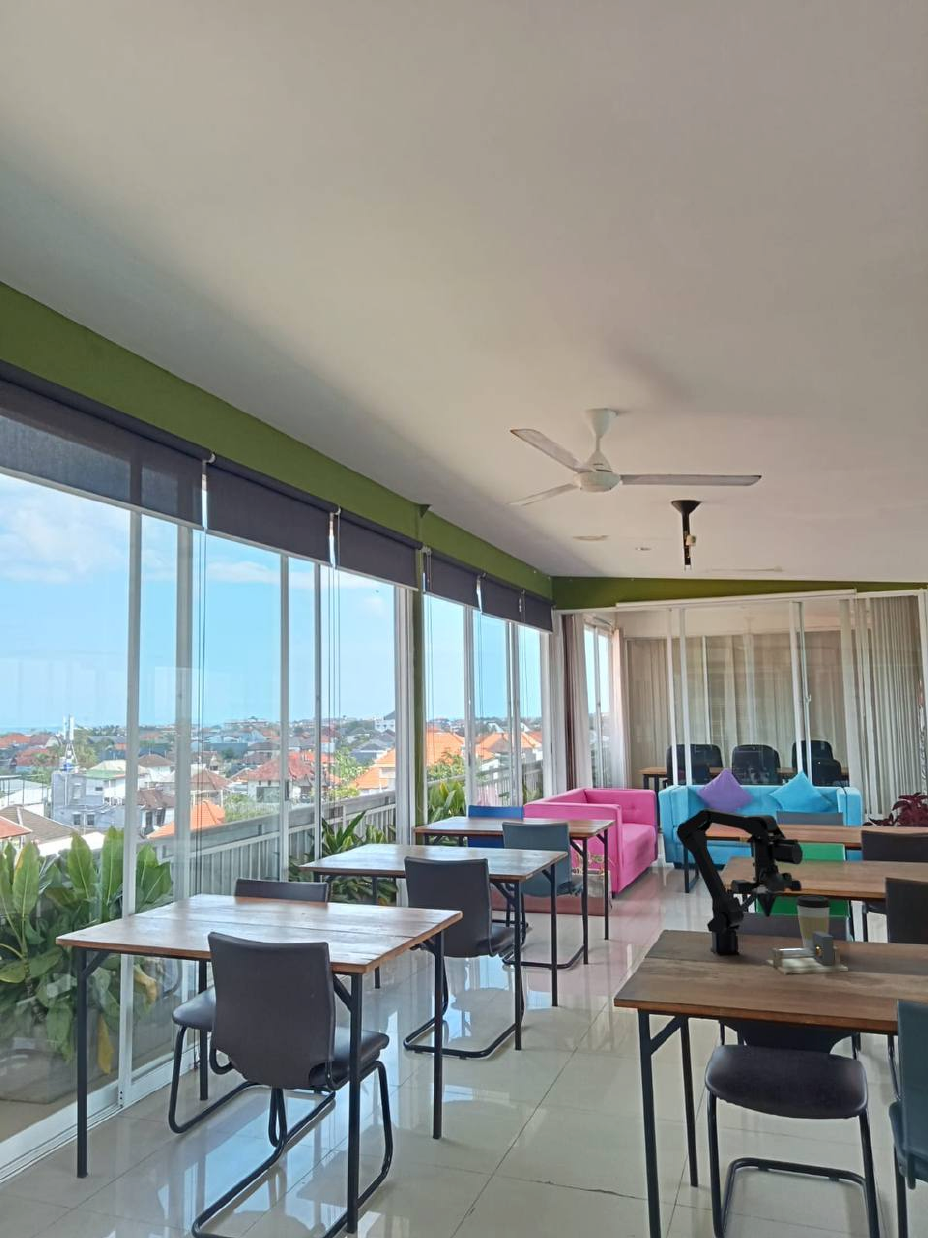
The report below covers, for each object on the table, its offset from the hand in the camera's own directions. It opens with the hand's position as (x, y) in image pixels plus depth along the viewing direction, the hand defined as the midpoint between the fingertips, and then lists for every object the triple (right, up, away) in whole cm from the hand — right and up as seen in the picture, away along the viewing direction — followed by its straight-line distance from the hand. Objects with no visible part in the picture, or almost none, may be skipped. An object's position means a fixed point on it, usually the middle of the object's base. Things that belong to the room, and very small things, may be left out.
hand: (767, 916), depth 259 cm
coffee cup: (+18, -14, +11) cm, 25 cm away
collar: (+14, -11, -5) cm, 18 cm away
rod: (+9, -9, -6) cm, 14 cm away
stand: (+9, -12, -6) cm, 16 cm away
